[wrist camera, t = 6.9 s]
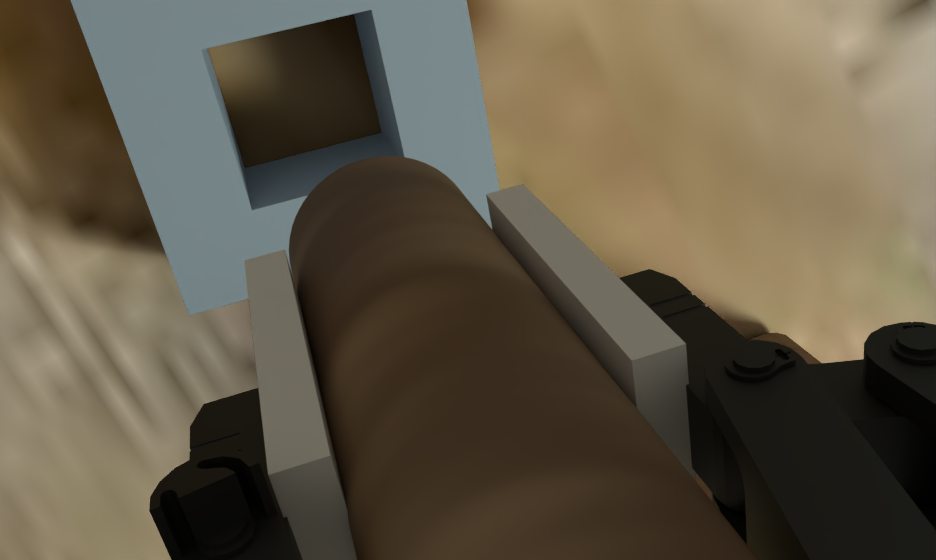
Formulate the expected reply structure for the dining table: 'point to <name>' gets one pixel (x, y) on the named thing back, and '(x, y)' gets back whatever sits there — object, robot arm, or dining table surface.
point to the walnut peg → (473, 392)
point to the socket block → (292, 178)
